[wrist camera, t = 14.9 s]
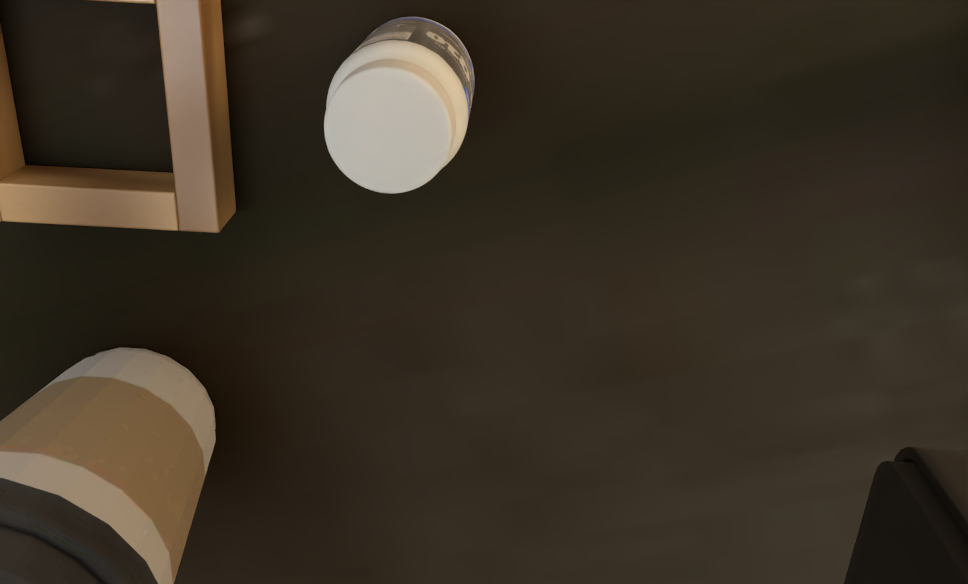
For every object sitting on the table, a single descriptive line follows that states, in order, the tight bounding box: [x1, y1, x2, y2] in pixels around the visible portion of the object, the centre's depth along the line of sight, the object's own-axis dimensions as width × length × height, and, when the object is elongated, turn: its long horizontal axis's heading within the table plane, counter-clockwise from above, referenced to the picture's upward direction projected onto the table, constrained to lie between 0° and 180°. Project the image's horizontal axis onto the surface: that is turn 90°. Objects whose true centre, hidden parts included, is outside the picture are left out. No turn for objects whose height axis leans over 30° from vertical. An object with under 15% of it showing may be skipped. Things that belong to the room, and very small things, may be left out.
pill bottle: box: [324, 17, 475, 193], centre depth 31 cm, size 5×5×8 cm
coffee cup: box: [0, 347, 216, 584], centre depth 35 cm, size 11×11×15 cm
